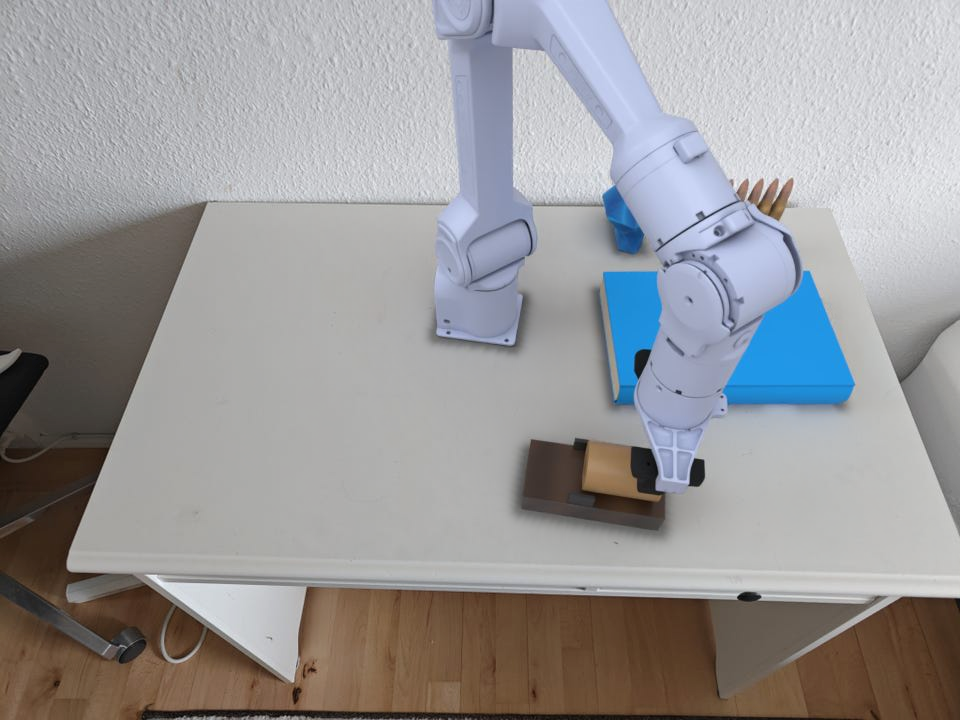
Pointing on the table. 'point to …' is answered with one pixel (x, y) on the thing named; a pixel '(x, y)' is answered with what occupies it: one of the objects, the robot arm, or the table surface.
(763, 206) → the ammunition clip
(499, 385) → the table surface
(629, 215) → the crystal
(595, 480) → the towel roll
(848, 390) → the book
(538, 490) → the stand
